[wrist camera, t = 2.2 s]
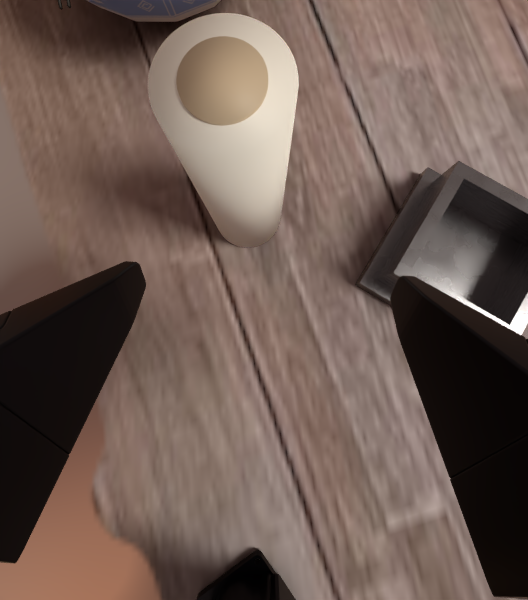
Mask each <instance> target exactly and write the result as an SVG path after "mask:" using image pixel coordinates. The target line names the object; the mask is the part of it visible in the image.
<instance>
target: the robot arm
mask: <svg viewBox="0 0 528 600" xmlns="http://www.w3.org/2000/svg"><path fill="white" fill-rule="evenodd" d="M145 288H146V282H145V278H144V275H143V273H142V270H141V267H140V265H139V263H137V262H127V261H126V262H123V263H120V264H118V265H116V266H113V267H111V268H109V269H106V270H104V271H102V272H99V273H97V274H95V275H92V276H90V277H88V278H85V279H83V280H81V281H78V282H76V283H74V284H71V285H69V286H67V287H64V288H62V289H60V290H57V291H55V292H53V293H50V294H48V295H46V296H43V297H41V298H39V299H36V300H34V301H32V302H29V303H27V304H25V305H22V306H20V307H18V308H15V309H13V310H12V311H8V312H6V313H4V314H1V315H0V562H4V563H16V562H17V560H18V559H19V557H20V555H21V553H22V551H23V550H24V548H25V546H26V543H27V541H28V539H29V537H30V535H31V533H32V531H33V529H34V527H35V525H36V523H37V521H38V519H39V517H40V515H41V513H42V511H43V509H44V506H45V504H46V502H47V500H48V498H49V496H50V494H51V492H52V490H53V488H54V486H55V484H56V482H57V480H58V478H59V475H60V474H61V472H62V469H63V467H64V465H65V463H66V461H67V459H68V457H69V454H70V453H71V451H72V448H73V446H74V444H75V442H76V440H77V438H78V436H79V434H80V432H81V429H82V428H83V426H84V424H85V422H86V420H87V417H88V415H89V414H90V411H91V409H92V407H93V405H94V403H95V401H96V399H97V397H98V395H99V393H100V391H101V389H102V387H103V385H104V383H105V381H106V379H107V376H108V374H109V372H110V370H111V368H112V366H113V364H114V362H115V360H116V358H117V356H118V354H119V352H120V350H121V348H122V346H123V344H124V341H125V339H126V337H127V335H128V333H129V331H130V329H131V327H132V325H133V322H134V320H135V317H136V314H137V311H138V308H139V306H140V303H141V300H142V297H143V294H144V291H145ZM390 302H391V306H392V310H393V315H394V319H395V324H396V328H397V332H398V336H399V339H400V342H401V345H402V348H403V351H404V353H405V356H406V359H407V362H408V364H409V367H410V370H411V373H412V375H413V378H414V381H415V384H416V386H417V389H418V392H419V395H420V397H421V400H422V403H423V406H424V408H425V411H426V414H427V417H428V419H429V422H430V425H431V428H432V430H433V433H434V436H435V439H436V441H437V444H438V447H439V450H440V453H441V455H442V458H443V461H444V464H445V466H446V469H447V472H448V475H449V477H450V478H451V479H450V481H451V483H452V486H453V489H454V492H455V494H456V497H457V500H458V503H459V505H460V508H461V511H462V514H463V516H464V519H465V522H466V525H467V527H468V530H469V533H470V536H471V538H472V541H473V544H474V547H475V549H476V552H477V555H478V558H479V560H480V563H481V566H482V569H483V571H484V574H485V577H486V580H487V582H488V585H489V587H490V590H491V592H492V594H493V596H494V597H504V598H518V599H528V339H526V338H525V337H524V336H522V335H520V334H518V333H516V332H515V331H513V330H511V329H509V328H507V327H505V326H504V325H502V324H500V323H498V322H496V321H495V320H493V319H491V318H489V317H487V316H485V315H484V314H482V313H480V312H478V311H476V310H475V309H473V308H471V307H469V306H467V305H466V304H464V303H462V302H460V301H458V300H456V299H455V298H453V297H451V296H449V295H447V294H446V293H444V292H442V291H440V290H438V289H436V288H435V287H433V286H431V285H429V284H427V283H426V282H424V281H422V280H420V279H418V278H416V277H415V276H400V277H399V278H398V280H397V282H396V284H395V287H394V289H393V291H392V293H391V296H390ZM257 558H258V559H260V560H256V559H257ZM197 600H296V599H295V598H294V596H293V595H292V593H291V592H290V590H289V589H288V587H287V586H286V584H285V583H284V581H283V580H282V578H281V577H280V575H279V574H277V573H275V571H274V570H273V568H272V567H271V565H270V564H269V562H268V561H267V559H266V558H265V556H264V555H263V553H262V552H261V551H255V552H253V553H252V554H250V555H249V556H248V557H246V558H245V559H244V560H243V561H241V562H240V563H239V564H237V565H236V566H235V567H233V568H232V569H231V570H229V571H228V572H227V573H225V574H224V575H223V576H221V577H220V578H219V579H217V580H216V581H215V582H213V583H212V584H211V585H209V586H208V587H207V588H205V589H204V590H203V591H201V592H200V593H199V594H198V596H197Z"/></svg>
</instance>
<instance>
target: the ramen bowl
mask: <svg viewBox="0 0 528 600" xmlns="http://www.w3.org/2000/svg"><path fill="white" fill-rule="evenodd" d="M86 1H88V2H90V3H92V4H94V5H96V6H98V7H100V8H102V9H105V10H107V11H110V12H113V13H115V14H118V15H121V16H123V17H126V18H128V19H131V20H134V21H136V22H177V21H180V20H183V19H185V18H188V17H190V16H193V15H195V14H198V13H200V12H203V11H206V10H208V9H210V8H213V7H214V6H215V5H217V4H218V3H219V2H220V1H221V0H86ZM58 4H59V8H60V9H62V3H61V0H58ZM67 6H68V7H69V8H71V5H70V0H67Z"/></svg>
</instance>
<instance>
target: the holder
mask: <svg viewBox="0 0 528 600" xmlns="http://www.w3.org/2000/svg"><path fill="white" fill-rule="evenodd" d="M400 276H415V277H416V278H418V279H420V280H422V281H424V282H426V283H427V284H429V285H431V286H433V287H435V288H436V289H438V290H440V291H442V292H444V293H446V294H447V295H449V296H451V297H453V298H455V299H456V300H458V301H460V302H462V303H464V304H466V305H467V306H469V307H471V308H473V309H475V310H476V311H478V312H480V313H482V314H484V315H485V316H487V317H489V318H491V319H493V320H495V321H496V322H498V323H500V324H502V325H504V326H505V327H507V328H509V329H511V330H513V331H515V332H516V333H518V334H520V335H521V334H522V332H523V330H524V329H525V327H526V325H527V323H528V199H527V198H525V197H523V196H521V195H520V194H518V193H516V192H514V191H512V190H510V189H509V188H507V187H505V186H503V185H501V184H500V183H498V182H496V181H494V180H492V179H491V178H489V177H487V176H485V175H483V174H482V173H480V172H478V171H476V170H474V169H473V168H471V167H469V166H467V165H465V164H464V163H462V162H460V161H458V162H457V163H456V164H454V165H453V166H452V167H451V168H449V169H448V170H447V171H446V172H444V173H443V174H442V175H441V174H439V173H437V172H435V171H434V170H432V169H430V168H427V169H425V170H424V171H423V172H422V173H421V174H420V176H419V178H418V179H417V181H416V183H415V184H414V186H413V188H412V190H411V191H410V193H409V195H408V196H407V198H406V200H405V201H404V203H403V205H402V207H401V208H400V210H399V212H398V213H397V215H396V217H395V218H394V220H393V222H392V223H391V225H390V227H389V229H388V230H387V232H386V234H385V235H384V237H383V239H382V240H381V242H380V244H379V246H378V247H377V249H376V251H375V252H374V254H373V256H372V257H371V259H370V261H369V262H368V264H367V266H366V268H365V269H364V271H363V273H362V274H361V276H360V278H359V279H358V281H357V283H356V285H357V286H359V287H361V288H362V289H364V290H366V291H367V292H369V293H371V294H372V295H374V296H376V297H378V298H379V299H381V300H383V301H384V302H386V303H388V304H389V305H391V302H390V296H391V293H392V291H393V289H394V287H395V284H396V282H397V280H398V278H399V277H400Z"/></svg>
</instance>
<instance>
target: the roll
mask: <svg viewBox="0 0 528 600" xmlns="http://www.w3.org/2000/svg"><path fill="white" fill-rule="evenodd" d="M298 86H299V80H298V71H297V65H296V62H295V59H294V57H293V55H292V53H291V51H290V49H289V47H288V46H287V44H286V43H285V41H284V40H283V39H282V38H281V37H280V36H279V34H278V33H276V32H275V31H274V30H273V29H272V28H270V27H269V26H267V25H266V24H264V23H263V22H260V21H258V20H256V19H254V18H251V17H248V16H245V15H240V14H234V13H216V14H210V15H205V16H202V17H198V18H196V19H193V20H191V21H189V22H187V23H185V24H184V25H182V26H180V27H179V28H178V29H176V30H175V31H174V32H172V33H171V34H170V35H169V36H168V37H167V38H166V39H165V41H164V42H163V43H162V45H161V46H160V47H159V49H158V51H157V52H156V54H155V56H154V59H153V61H152V63H151V67H150V70H149V76H148V95H149V101H150V104H151V108H152V110H153V113H154V115H155V117H156V119H157V121H158V122H159V124H160V126H161V128H162V130H163V131H164V133H165V135H166V137H167V138H168V140H169V142H170V144H171V146H172V147H173V149H174V151H175V153H176V155H177V156H178V158H179V160H180V162H181V164H182V165H183V167H184V169H185V171H186V172H187V174H188V176H189V178H190V180H191V181H192V183H193V185H194V187H195V189H196V190H197V192H198V194H199V196H200V198H201V199H202V201H203V203H204V205H205V206H206V208H207V210H208V212H209V214H210V215H211V217H212V219H213V221H214V223H215V224H216V226H217V228H218V230H219V231H220V233H221V235H222V236H223V237H224V238H225V239H226V240H227V241H228V242H230V243H232V244H233V245H236V246H239V247H244V248H252V247H257V246H260V245H262V244H264V243H266V242H267V241H269V240H270V239H271V238H272V237H273V236H274V234H275V233H276V231H277V229H278V227H279V224H280V219H281V212H282V205H283V197H284V190H285V183H286V176H287V168H288V161H289V154H290V146H291V139H292V132H293V124H294V117H295V110H296V103H297V95H298Z"/></svg>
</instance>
